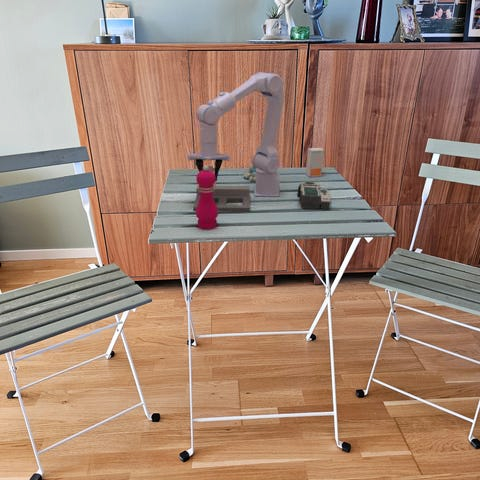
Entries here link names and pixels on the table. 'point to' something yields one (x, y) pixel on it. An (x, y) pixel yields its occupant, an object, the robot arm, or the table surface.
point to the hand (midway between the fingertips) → (209, 180)
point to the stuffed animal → (250, 173)
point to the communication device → (313, 196)
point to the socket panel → (229, 198)
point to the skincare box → (314, 162)
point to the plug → (213, 172)
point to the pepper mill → (206, 200)
